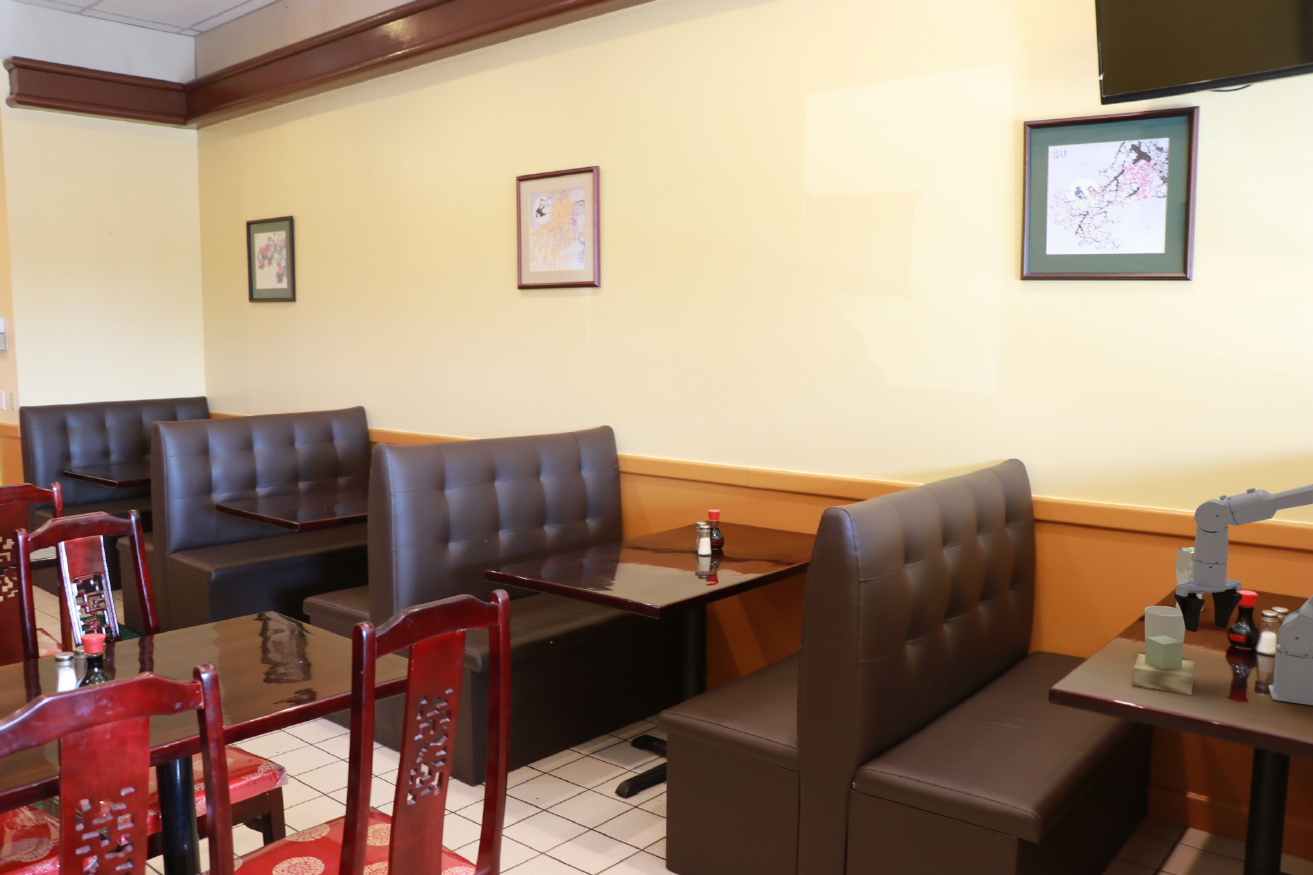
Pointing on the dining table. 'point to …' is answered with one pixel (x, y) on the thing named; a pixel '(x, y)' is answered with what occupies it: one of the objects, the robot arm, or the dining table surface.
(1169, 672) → the bamboo box
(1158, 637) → the sage block
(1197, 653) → the dining table surface
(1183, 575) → the beer glass
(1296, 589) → the dining table surface
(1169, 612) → the white cup
